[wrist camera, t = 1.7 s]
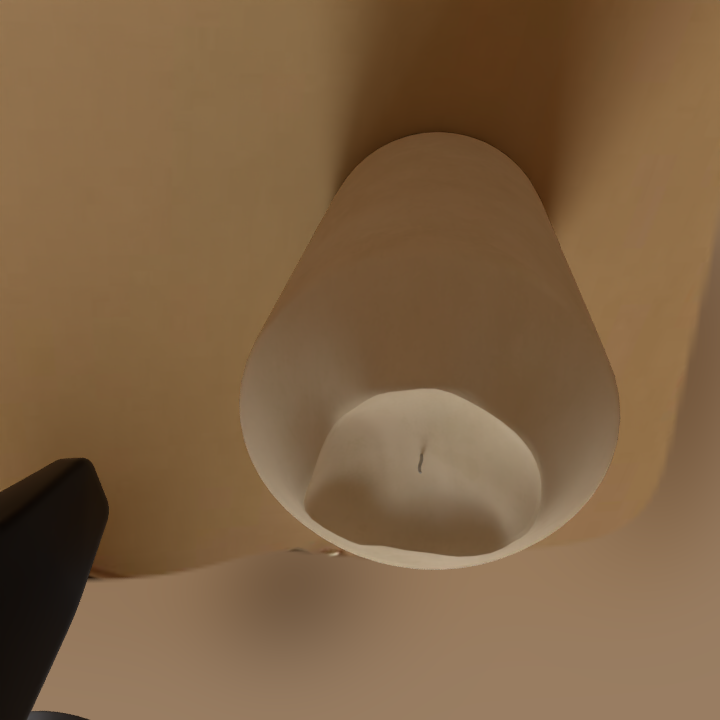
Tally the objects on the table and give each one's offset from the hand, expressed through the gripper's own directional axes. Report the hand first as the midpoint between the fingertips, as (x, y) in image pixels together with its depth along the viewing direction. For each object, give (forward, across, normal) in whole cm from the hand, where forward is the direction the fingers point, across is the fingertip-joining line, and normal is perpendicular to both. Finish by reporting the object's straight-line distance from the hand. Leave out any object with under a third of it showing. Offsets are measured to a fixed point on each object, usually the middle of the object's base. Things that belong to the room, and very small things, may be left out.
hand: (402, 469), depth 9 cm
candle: (+10, 0, 0) cm, 10 cm away
